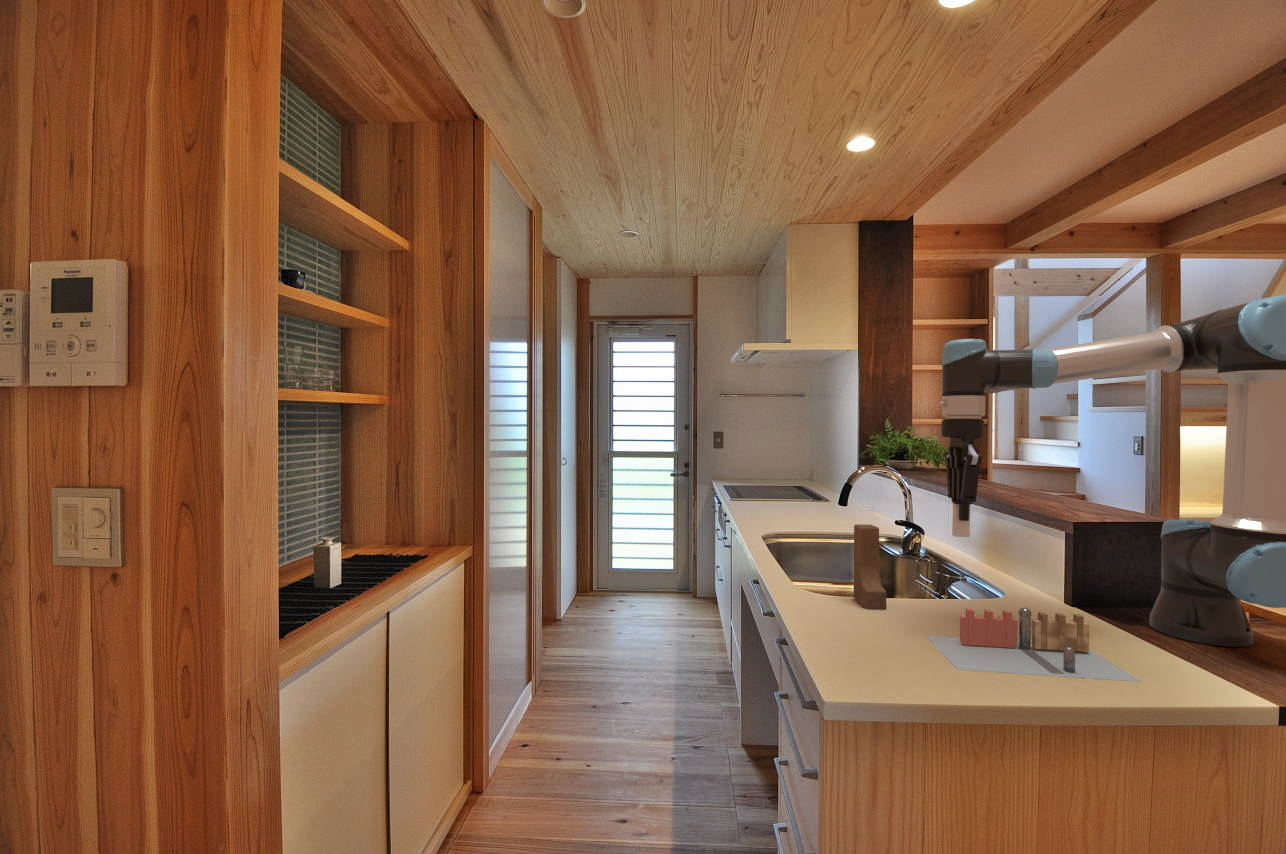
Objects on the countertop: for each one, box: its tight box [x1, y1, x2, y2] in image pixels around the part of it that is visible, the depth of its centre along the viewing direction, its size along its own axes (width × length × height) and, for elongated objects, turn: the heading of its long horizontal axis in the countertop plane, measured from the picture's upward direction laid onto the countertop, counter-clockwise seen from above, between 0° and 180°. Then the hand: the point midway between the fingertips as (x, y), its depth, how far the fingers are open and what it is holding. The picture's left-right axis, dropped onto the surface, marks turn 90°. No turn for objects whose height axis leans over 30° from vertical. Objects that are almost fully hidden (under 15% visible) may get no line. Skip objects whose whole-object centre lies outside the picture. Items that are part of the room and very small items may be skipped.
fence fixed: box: [1031, 611, 1090, 652], centre depth 107 cm, size 9×1×6 cm, turn 82°
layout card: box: [925, 635, 1143, 683], centre depth 104 cm, size 28×16×1 cm, turn 82°
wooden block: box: [852, 523, 887, 611], centre depth 135 cm, size 9×4×18 cm, turn 179°
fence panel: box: [959, 607, 1019, 648], centre depth 109 cm, size 10×1×6 cm, turn 82°
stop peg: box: [1063, 645, 1075, 673], centre depth 98 cm, size 2×2×4 cm
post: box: [1018, 606, 1032, 651], centre depth 108 cm, size 2×2×8 cm
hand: (960, 536), depth 116 cm, fingers closed
